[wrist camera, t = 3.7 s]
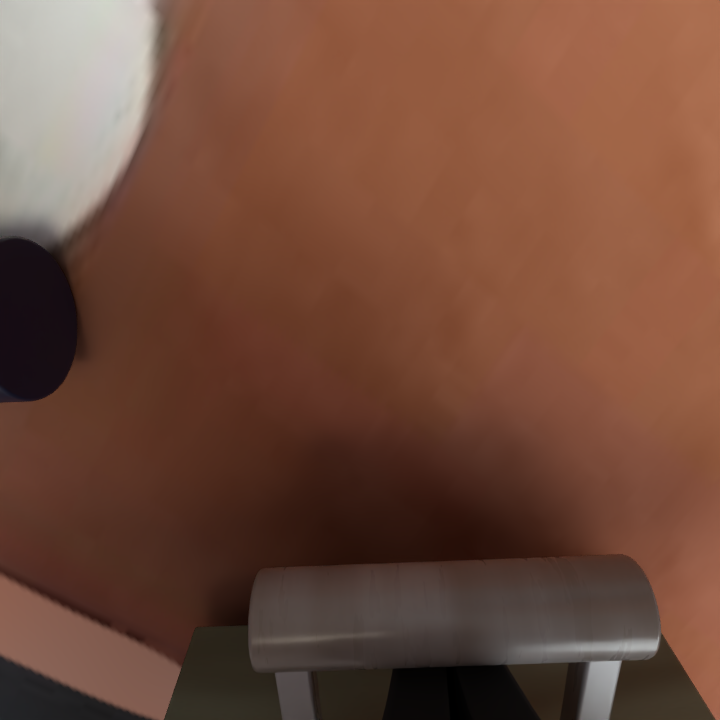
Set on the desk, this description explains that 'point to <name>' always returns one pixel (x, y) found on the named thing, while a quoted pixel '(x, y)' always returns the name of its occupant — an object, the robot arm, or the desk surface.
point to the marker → (33, 322)
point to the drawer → (440, 640)
